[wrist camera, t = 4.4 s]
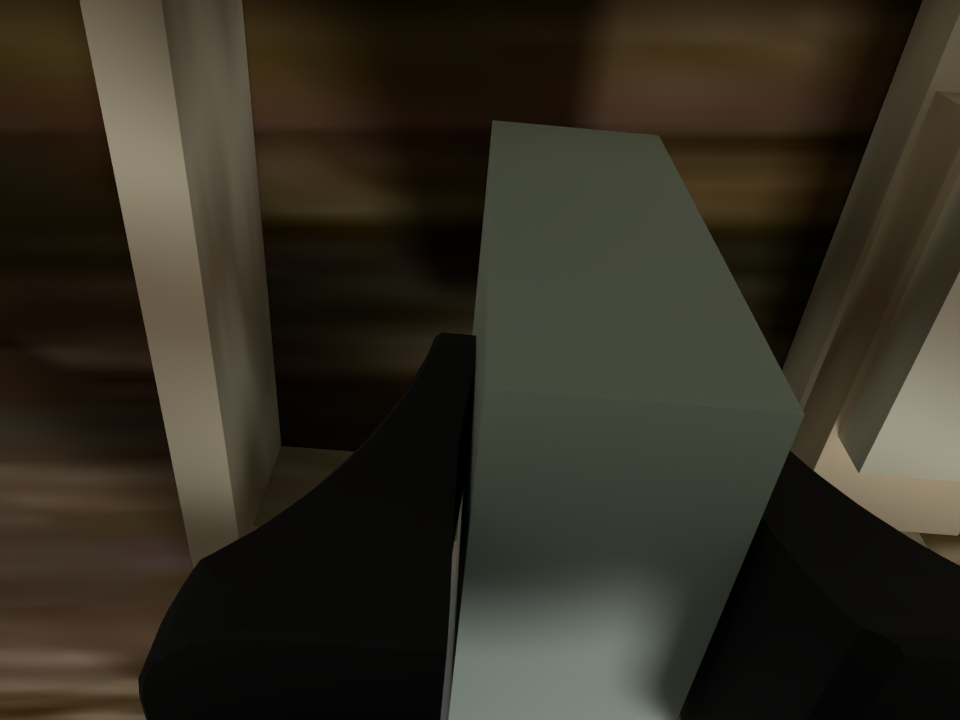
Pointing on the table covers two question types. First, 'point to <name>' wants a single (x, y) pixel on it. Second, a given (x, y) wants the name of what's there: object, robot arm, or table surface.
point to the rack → (296, 471)
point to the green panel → (604, 435)
